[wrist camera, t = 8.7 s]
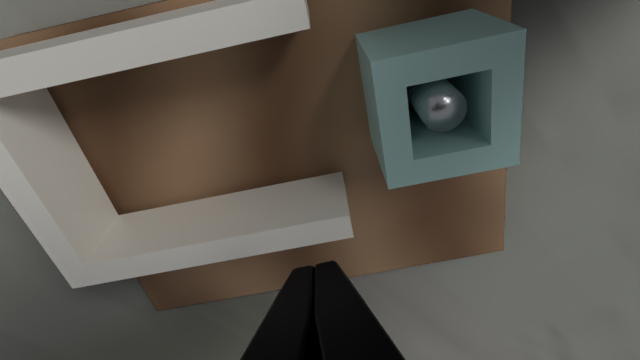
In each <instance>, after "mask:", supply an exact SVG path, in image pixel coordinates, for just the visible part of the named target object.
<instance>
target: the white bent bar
mask: <svg viewBox="0 0 640 360" xmlns="http://www.w3.org/2000/svg"><path fill="white" fill-rule="evenodd" d="M306 29H310V16H309V8H308V3H307V0H215V1H210V2H206V3H202V4H197V5H193V6H189V7H185V8H180V9H176V10H172V11H167V12H163V13H159V14H155V15H150V16H146V17H142V18H137V19H133V20H129V21H125V22H120V23H116V24H112V25H108V26H103V27H99V28H95V29H90V30H86V31H82V32H78V33H73V34H69V35H65V36H60V37H56V38H52V39H48V40H43V41H39V42H35V43H31V44H26V45H22V46H18V47H13V48H9V49H5V50H1V51H0V188H1V190H2V191H3V193H4V194H5V195H6V197H7V198H8V200H9V201H10V202H11V204H12V205H13V207H14V208H15V209H16V211H17V212H18V214H19V215H20V216H21V218H22V219H23V220H24V222H25V223H26V225H27V226H28V227H29V229H30V230H31V232H32V233H33V234H34V236H35V237H36V239H37V240H38V241H39V243H40V244H41V246H42V247H43V248H44V250H45V251H46V252H47V254H48V255H49V257H50V258H51V259H52V261H53V262H54V264H55V265H56V266H57V268H58V269H59V271H60V272H61V273H62V275H63V276H64V278H65V279H66V280H67V282H68V283H69V284H70V286H71V287H72V289H75V288H80V287H85V286H91V285H96V284H102V283H107V282H113V281H118V280H124V279H129V278H135V277H140V276H146V275H151V274H156V273H162V272H167V271H173V270H178V269H184V268H189V267H195V266H200V265H206V264H211V263H216V262H222V261H227V260H233V259H238V258H244V257H249V256H255V255H260V254H266V253H271V252H277V251H282V250H287V249H293V248H298V247H304V246H309V245H315V244H320V243H326V242H331V241H337V240H342V239H348V238H353V237H354V236H353V230H352V224H351V218H350V212H349V206H348V200H347V194H346V189H345V184H344V179H343V174H342V172H337V173H332V174H326V175H321V176H316V177H311V178H306V179H301V180H296V181H291V182H286V183H281V184H275V185H270V186H265V187H260V188H255V189H250V190H245V191H240V192H235V193H230V194H224V195H219V196H214V197H209V198H204V199H199V200H194V201H189V202H184V203H178V204H173V205H168V206H163V207H158V208H153V209H148V210H143V211H138V212H133V213H127V214H122V215H118V214H117V212H116V210H115V208H114V206H113V205H112V203H111V201H110V199H109V198H108V196H107V194H106V192H105V191H104V189H103V187H102V185H101V183H100V182H99V180H98V178H97V176H96V175H95V173H94V171H93V169H92V168H91V166H90V164H89V162H88V160H87V159H86V157H85V155H84V153H83V152H82V150H81V148H80V146H79V145H78V143H77V141H76V139H75V137H74V136H73V134H72V132H71V130H70V129H69V127H68V125H67V123H66V122H65V120H64V118H63V116H62V114H61V113H60V111H59V109H58V107H57V106H56V104H55V102H54V100H53V99H52V97H51V95H50V93H49V92H48V90H47V87H52V86H56V85H61V84H65V83H69V82H74V81H78V80H83V79H87V78H92V77H96V76H101V75H105V74H110V73H114V72H119V71H123V70H127V69H132V68H136V67H141V66H145V65H150V64H154V63H159V62H163V61H168V60H172V59H176V58H181V57H185V56H190V55H194V54H199V53H203V52H208V51H212V50H217V49H221V48H226V47H230V46H234V45H239V44H243V43H248V42H252V41H257V40H261V39H266V38H270V37H275V36H279V35H284V34H288V33H292V32H297V31H301V30H306Z"/></svg>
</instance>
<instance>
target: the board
mask: <svg viewBox="0 0 640 360" xmlns="http://www.w3.org/2000/svg"><path fill="white" fill-rule="evenodd" d="M210 1H215V0H163V1H159V2H154V3H150V4H146V5H142V6H137V7H133V8H129V9H125V10H121V11H116V12H112V13H108V14H104V15H99V16H95V17H91V18H87V19H82V20H78V21H74V22H70V23H65V24H61V25H57V26H53V27H49V28H44V29H40V30H36V31H32V32H27V33H23V34H19V35H15V36H11V37H8V38H5V39H2V40H0V48H1V49H2V50H5V49H9V48H13V47H18V46H22V45H26V44H31V43H35V42H39V41H43V40H48V39H52V38H56V37H60V36H65V35H69V34H73V33H78V32H82V31H86V30H90V29H95V28H99V27H103V26H108V25H112V24H116V23H120V22H125V21H129V20H133V19H137V18H142V17H146V16H150V15H155V14H159V13H163V12H167V11H172V10H176V9H180V8H185V7H189V6H193V5H197V4H202V3H206V2H210ZM307 3H308V8H309V16H310V29H306V30H301V31H297V32H292V33H288V34H284V35H279V36H275V37H270V38H266V39H261V40H257V41H252V42H248V43H243V44H239V45H234V46H230V47H226V48H221V49H217V50H212V51H208V52H203V53H199V54H194V55H190V56H185V57H181V58H176V59H172V60H168V61H163V62H159V63H154V64H150V65H145V66H141V67H136V68H132V69H127V70H123V71H119V72H114V73H110V74H105V75H101V76H96V77H92V78H87V79H83V80H78V81H74V82H69V83H65V84H61V85H56V86H52V87H47V90H48V92H49V93H50V95H51V97H52V99H53V100H54V102H55V104H56V106H57V107H58V109H59V111H60V113H61V114H62V116H63V118H64V120H65V122H66V123H67V125H68V127H69V129H70V130H71V132H72V134H73V136H74V137H75V139H76V141H77V143H78V145H79V146H80V148H81V150H82V152H83V153H84V155H85V157H86V159H87V160H88V162H89V164H90V166H91V168H92V169H93V171H94V173H95V175H96V176H97V178H98V180H99V182H100V183H101V185H102V187H103V189H104V191H105V192H106V194H107V196H108V198H109V199H110V201H111V203H112V205H113V206H114V208H115V210H116V212H117V214H118V215H122V214H127V213H133V212H138V211H143V210H148V209H153V208H158V207H163V206H168V205H173V204H178V203H184V202H189V201H194V200H199V199H204V198H209V197H214V196H219V195H224V194H230V193H235V192H240V191H245V190H250V189H255V188H260V187H265V186H270V185H275V184H281V183H286V182H291V181H296V180H301V179H306V178H311V177H316V176H321V175H326V174H332V173H337V172H342V174H343V179H344V184H345V189H346V194H347V200H348V206H349V212H350V218H351V224H352V230H353V236H354V237H353V238H348V239H342V240H337V241H331V242H326V243H320V244H315V245H309V246H304V247H298V248H293V249H287V250H282V251H277V252H271V253H266V254H260V255H255V256H249V257H244V258H238V259H233V260H227V261H222V262H216V263H211V264H206V265H200V266H195V267H189V268H184V269H178V270H173V271H167V272H162V273H156V274H151V275H146V276H140V277H137V278H138V280H139V282H140V283H141V285H142V287H143V288H144V290H145V292H146V293H147V295H148V297H149V299H150V300H151V302H152V304H153V305H154V307H155V309H156V310H157V311H161V310H166V309H172V308H178V307H184V306H189V305H195V304H201V303H206V302H212V301H218V300H223V299H229V298H235V297H240V296H246V295H252V294H257V293H263V292H269V291H275V290H280V289H281V288H282V286H283V285H284V283H285V281H286V279H287V278H288V276H289V274H290V272H291V271H292V270H293V269H294V268H297V267H302V266H307V265H313V266H314V267H315V265H316V264H317V263H321V262H326V261H331V260H334V261H336V262H337V263H338V264H339V266H340V267H341V269H342V270H343V271H344V273H345V274H346V276H347V277H348V278H349V277H354V276H360V275H366V274H371V273H377V272H383V271H388V270H394V269H400V268H405V267H411V266H417V265H422V264H428V263H434V262H440V261H445V260H451V259H457V258H462V257H468V256H474V255H479V254H485V253H491V252H496V251H502V250H504V221H505V191H506V167H505V168H500V169H494V170H489V171H484V172H479V173H473V174H468V175H463V176H458V177H452V178H447V179H442V180H436V181H431V182H426V183H421V184H415V185H410V186H405V187H400V188H394V189H389V190H388V187H387V184H386V181H385V178H384V175H383V172H382V169H381V166H380V163H379V161H378V158H377V155H376V152H375V149H374V146H373V143H372V140H371V135H370V129H369V122H368V116H367V109H366V103H365V96H364V90H363V83H362V77H361V70H360V64H359V57H358V51H357V45H356V38H355V34H358V33H363V32H367V31H372V30H377V29H381V28H386V27H390V26H395V25H399V24H404V23H408V22H413V21H417V20H422V19H427V18H431V17H436V16H440V15H445V14H449V13H454V12H458V11H463V10H467V9H472V8H473V9H476V10H478V11H481V12H483V13H486V14H489V15H491V16H494V17H497V18H499V19H502V20H505V21H507V22H510V23H511V8H512V0H307ZM446 79H447V80H448V81H449V82H450V78H446ZM408 108H409V110H413V109H414V108H413V106H412V105H411V103H410V102H409V100H408Z"/></svg>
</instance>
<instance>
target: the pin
mask: <svg viewBox="0 0 640 360" xmlns="http://www.w3.org/2000/svg"><path fill="white" fill-rule="evenodd" d="M406 88H407V98H408V100H409V102H410V103H411V105H412V106H413V108H414V109H415V111H416V112H417V114H418V115H419V117H420V118H421V120H422V121H423V123H424V124H425V126H426V127H427V128H429V129H430V130H432V131H435V132H446V131H449V130H452V129H454V128H455V127H457V126H458V125H459V124H460V123H461V122H462V120H463V119H464V117H465V115H466V112H467V102H466V99H465V97H464V96H463V95H462V94H461V93H460V92H459V91H458V90H457V89H456V88H455V87H454V86H453V85H452V84H451V83H450V82H449V81H448V80H447V79H442V80H437V81H432V82H427V83H422V84H418V85H413V86H408V87H406Z"/></svg>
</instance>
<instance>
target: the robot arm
mask: <svg viewBox="0 0 640 360" xmlns="http://www.w3.org/2000/svg"><path fill="white" fill-rule="evenodd" d="M240 360H405V358H404V357H403V356H402V354H401V353H400V351H399V350H398V348H397V347H396V346H395V344H394V343H393V341H392V340H391V338H390V337H389V336H388V334H387V333H386V331H385V330H384V328H383V327H382V326H381V324H380V323H379V321H378V320H377V318H376V317H375V316H374V314H373V313H372V311H371V310H370V308H369V307H368V306H367V304H366V303H365V301H364V300H363V298H362V297H361V296H360V294H359V293H358V291H357V290H356V288H355V287H354V286H353V284H352V283H351V281H350V280H349V279H348V277H347V276H346V274H345V273H344V271H343V270H342V269H341V267H340V266H339V264H338V263H337V262H336V261H334V260H331V261H326V262H321V263H317V264H316V265H315V267H314V266H313V265H307V266H302V267H297V268H294V269H293V270H292V271H291V272H290V274H289V276H288V278H287V279H286V281H285V283H284V285H283V286H282V288H281V290H280V291H279V293H278V295H277V297H276V298H275V300H274V302H273V304H272V305H271V307H270V309H269V310H268V312H267V314H266V316H265V317H264V319H263V321H262V323H261V324H260V326H259V328H258V329H257V331H256V333H255V335H254V336H253V338H252V340H251V342H250V343H249V345H248V347H247V348H246V350H245V352H244V354H243V355H242V357H241V359H240Z"/></svg>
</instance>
